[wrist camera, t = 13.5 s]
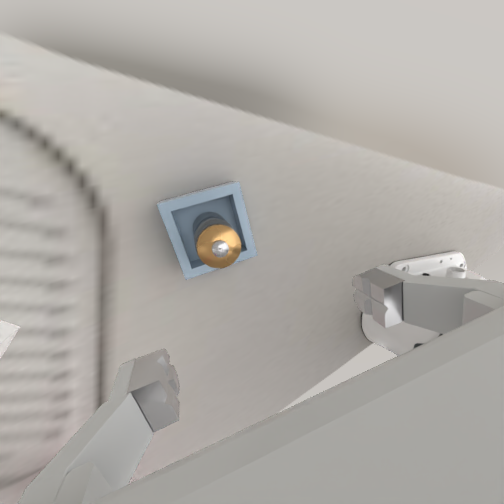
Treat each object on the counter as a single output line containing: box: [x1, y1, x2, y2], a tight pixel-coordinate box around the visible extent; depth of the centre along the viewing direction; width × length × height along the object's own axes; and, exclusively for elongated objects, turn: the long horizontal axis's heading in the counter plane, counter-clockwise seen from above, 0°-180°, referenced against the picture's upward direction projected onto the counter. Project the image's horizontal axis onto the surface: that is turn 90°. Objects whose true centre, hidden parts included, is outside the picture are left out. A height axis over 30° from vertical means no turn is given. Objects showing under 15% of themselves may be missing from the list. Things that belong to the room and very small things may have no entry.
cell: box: [193, 212, 241, 268], centre depth 24 cm, size 4×4×9 cm
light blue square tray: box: [157, 181, 257, 280], centre depth 27 cm, size 8×8×4 cm
